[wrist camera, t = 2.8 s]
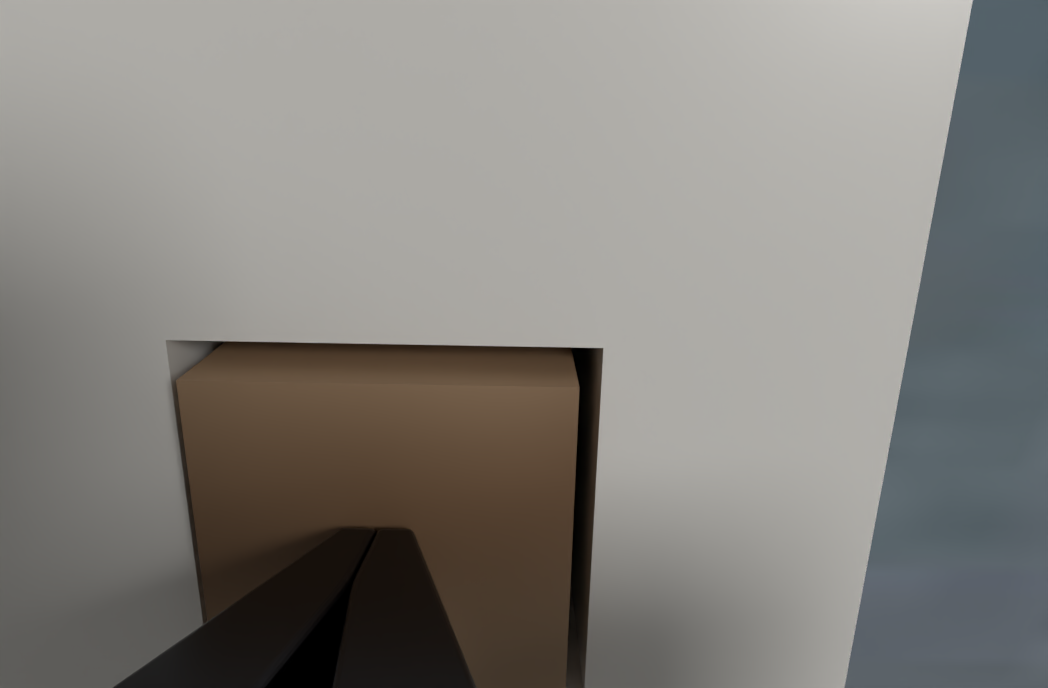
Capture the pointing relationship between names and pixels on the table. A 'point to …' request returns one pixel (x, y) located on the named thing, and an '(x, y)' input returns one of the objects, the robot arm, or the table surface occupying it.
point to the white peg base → (475, 286)
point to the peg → (397, 478)
